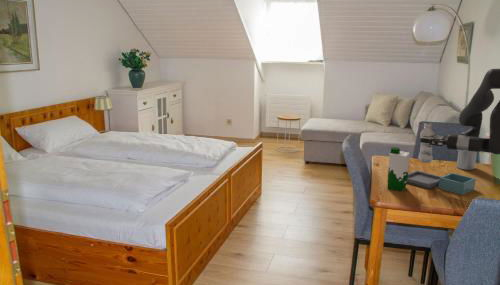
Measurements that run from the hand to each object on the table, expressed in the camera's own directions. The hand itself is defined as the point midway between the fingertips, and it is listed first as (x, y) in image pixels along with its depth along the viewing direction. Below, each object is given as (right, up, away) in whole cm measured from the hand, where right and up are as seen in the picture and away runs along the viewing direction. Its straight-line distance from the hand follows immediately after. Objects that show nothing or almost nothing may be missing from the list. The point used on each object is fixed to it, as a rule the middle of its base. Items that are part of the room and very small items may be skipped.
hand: (422, 138), depth 216 cm
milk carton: (-15, -25, -5) cm, 29 cm away
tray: (+2, -22, +4) cm, 22 cm away
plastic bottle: (+2, -12, +2) cm, 12 cm away
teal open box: (+15, -25, -6) cm, 29 cm away
